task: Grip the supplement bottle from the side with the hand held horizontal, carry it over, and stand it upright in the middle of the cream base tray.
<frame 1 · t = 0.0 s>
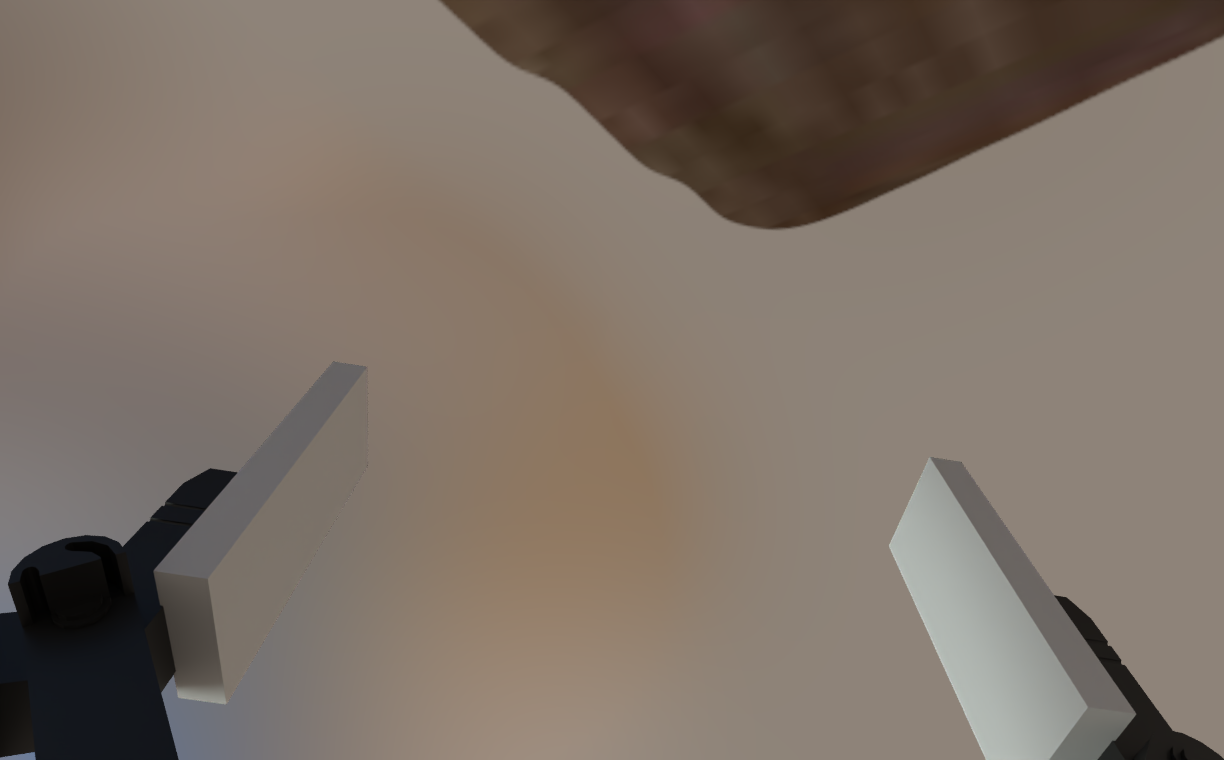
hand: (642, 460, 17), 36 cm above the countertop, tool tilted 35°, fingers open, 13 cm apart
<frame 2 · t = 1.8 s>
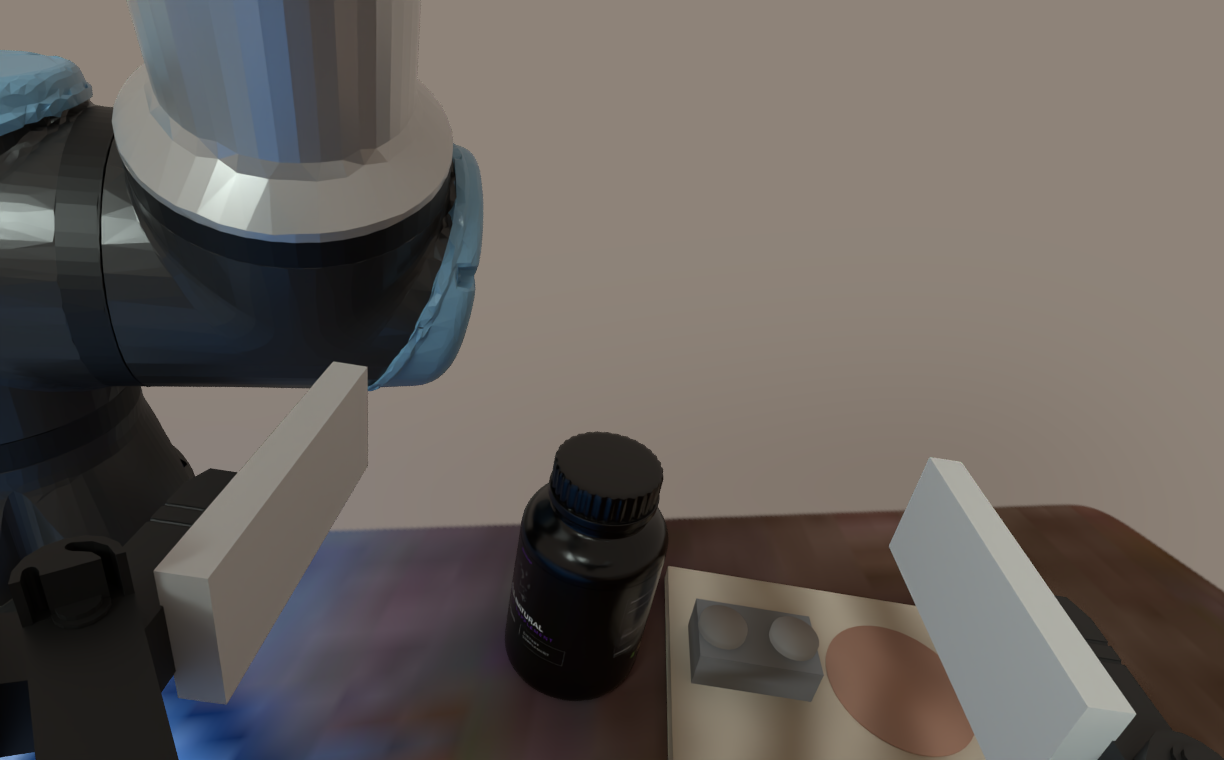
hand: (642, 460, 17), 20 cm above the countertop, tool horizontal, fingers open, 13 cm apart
cream base tray: (892, 698, 37), on the countertop
supplement bottle: (570, 650, 36), on the countertop
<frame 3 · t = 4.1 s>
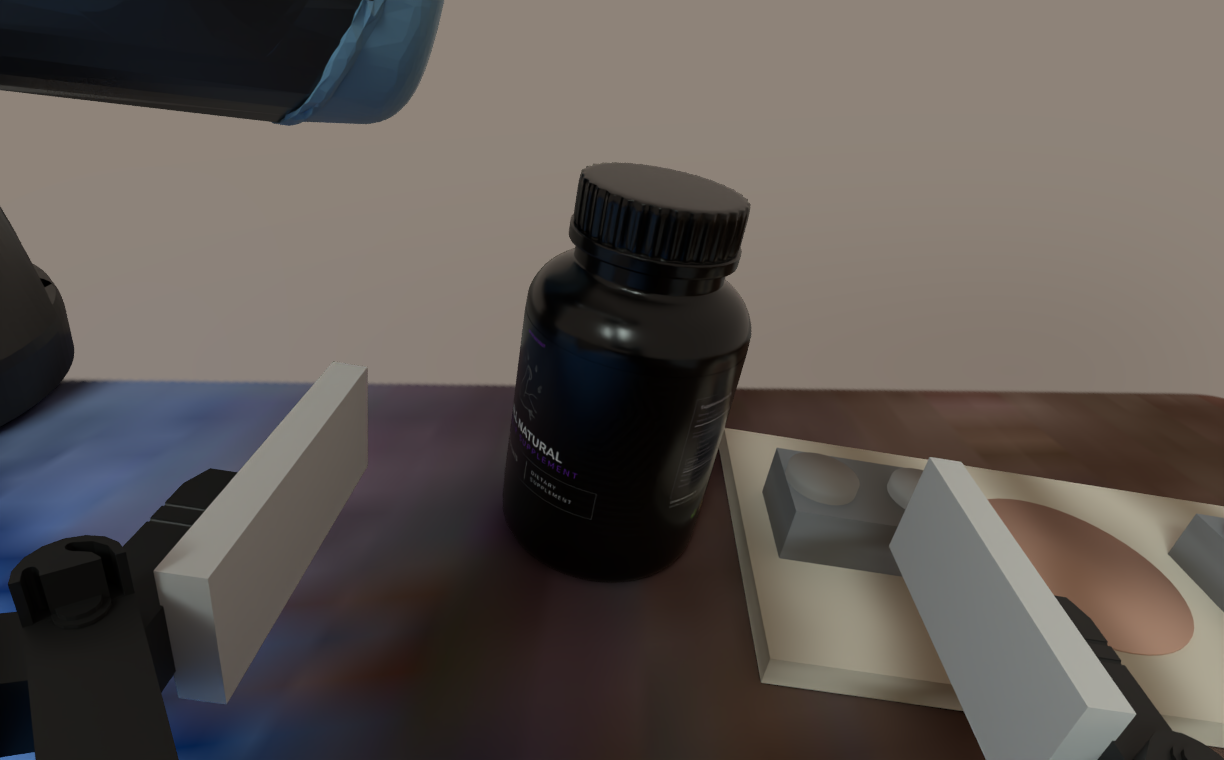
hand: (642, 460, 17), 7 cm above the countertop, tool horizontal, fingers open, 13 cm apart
cream base tray: (1055, 588, 26), on the countertop
supplement bottle: (596, 524, 25), on the countertop
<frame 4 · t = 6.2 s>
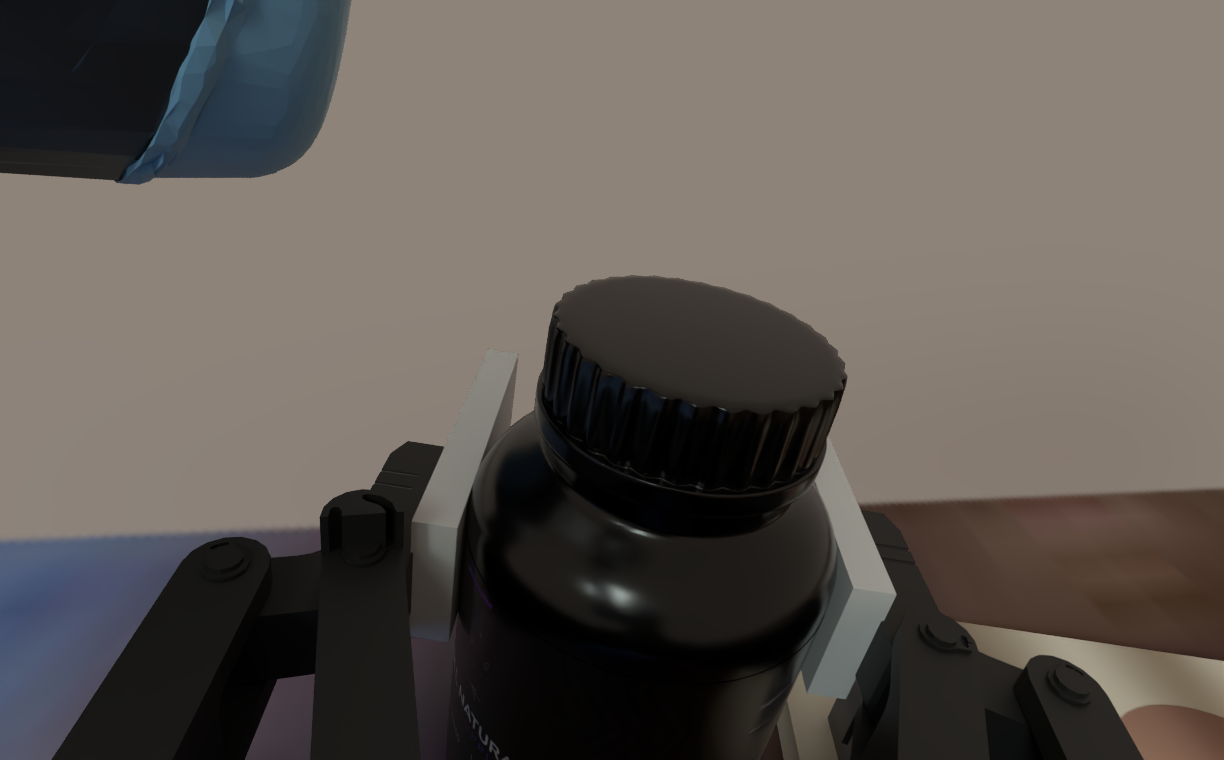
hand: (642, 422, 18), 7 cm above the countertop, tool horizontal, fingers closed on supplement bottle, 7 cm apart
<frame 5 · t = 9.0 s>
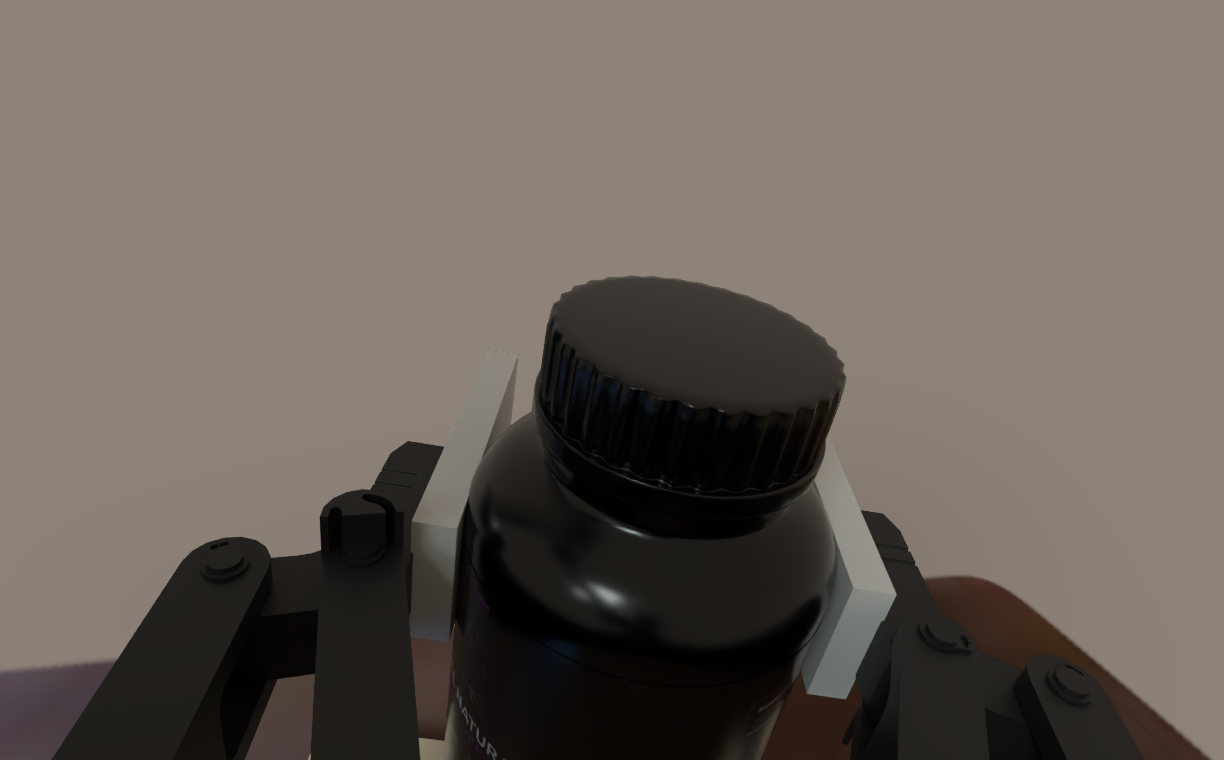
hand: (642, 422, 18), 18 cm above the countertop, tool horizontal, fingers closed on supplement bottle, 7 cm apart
when the fingers open (9 cm above the countertop, at t = 11.6 s): supplement bottle drops 1 cm, resting on cream base tray.
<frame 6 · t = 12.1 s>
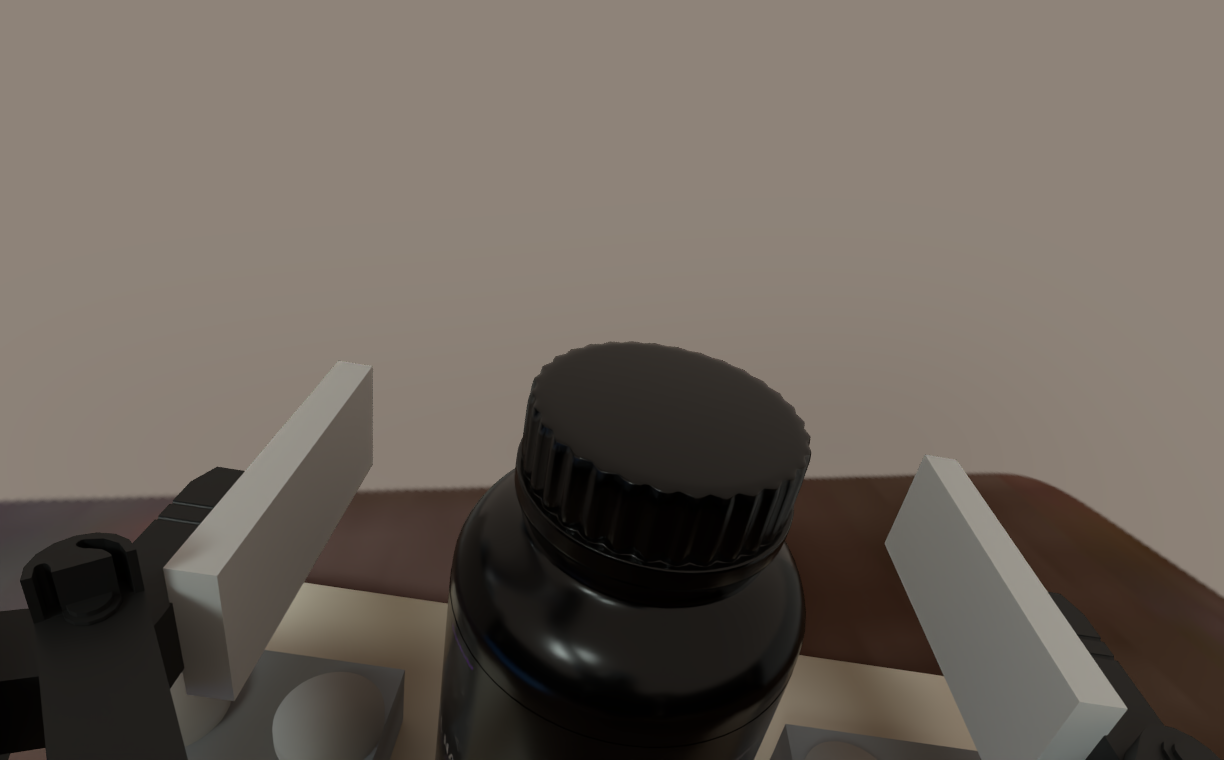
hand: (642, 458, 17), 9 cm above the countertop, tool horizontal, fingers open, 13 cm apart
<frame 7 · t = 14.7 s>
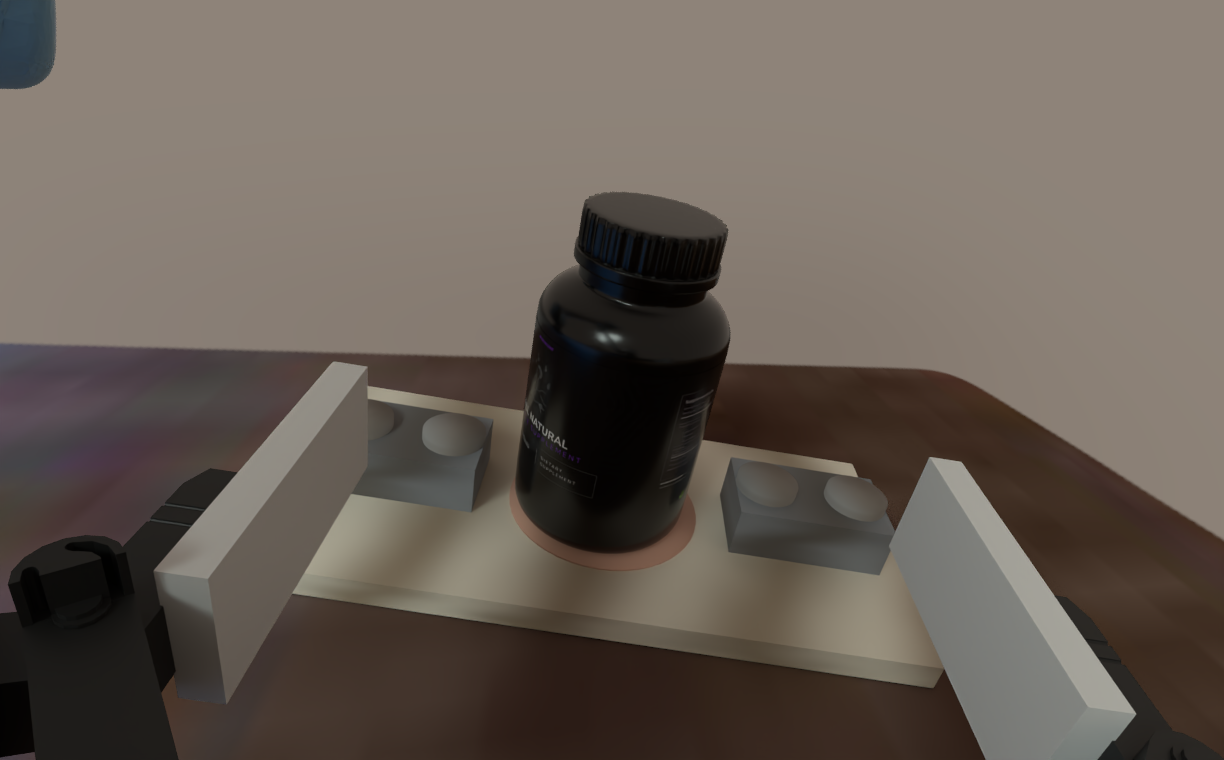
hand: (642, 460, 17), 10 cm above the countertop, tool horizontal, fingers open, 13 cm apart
cream base tray: (599, 522, 29), on the countertop
supplement bottle: (597, 505, 29), point 1 cm above the countertop, touching cream base tray
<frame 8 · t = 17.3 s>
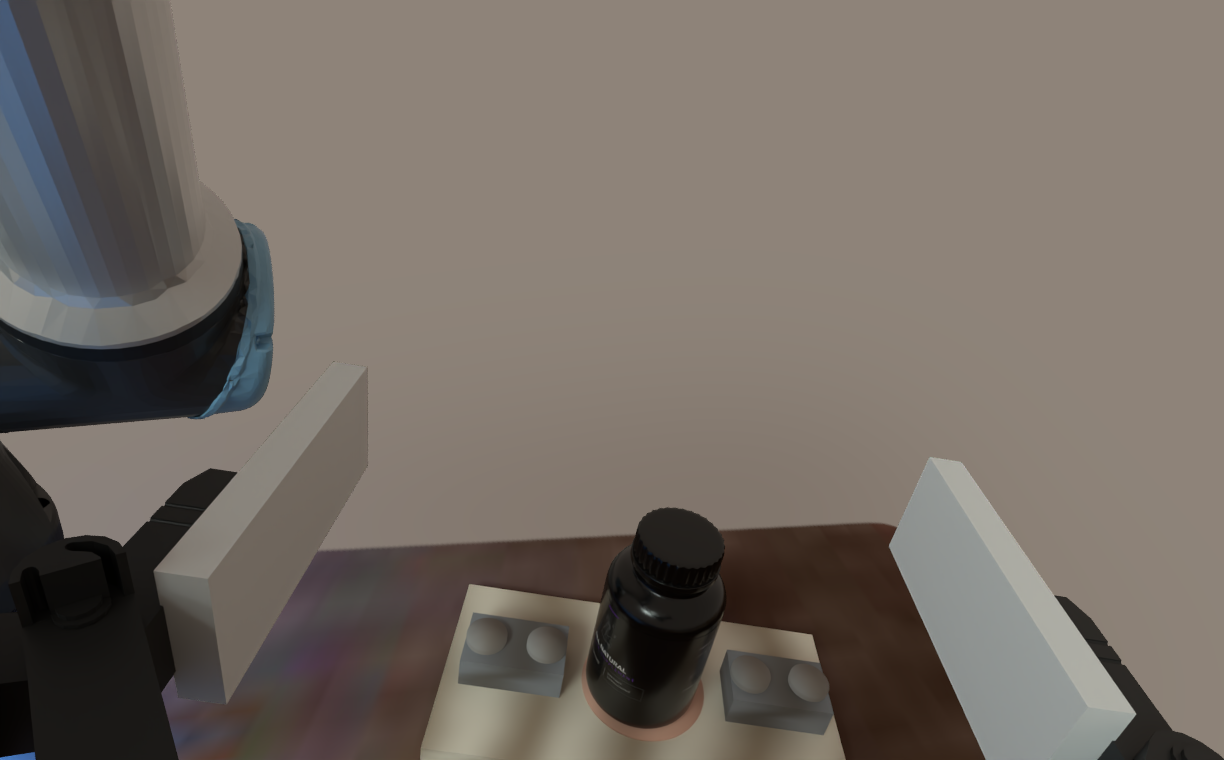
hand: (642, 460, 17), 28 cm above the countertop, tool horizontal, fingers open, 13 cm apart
cream base tray: (639, 694, 44), on the countertop
supplement bottle: (638, 685, 43), point 1 cm above the countertop, touching cream base tray
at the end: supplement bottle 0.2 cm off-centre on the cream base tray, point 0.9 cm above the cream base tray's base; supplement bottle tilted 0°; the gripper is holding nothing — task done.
